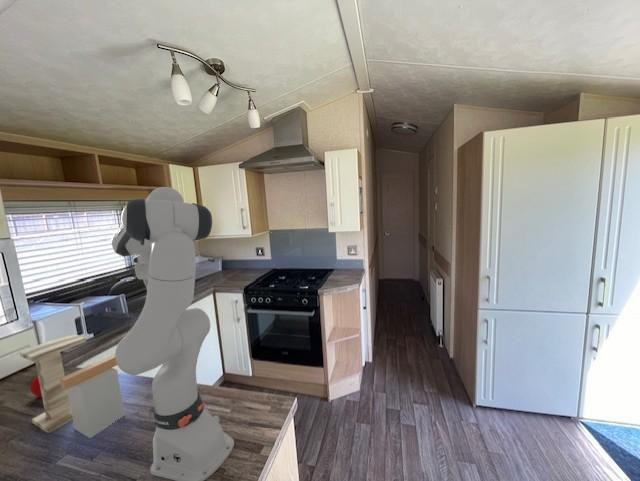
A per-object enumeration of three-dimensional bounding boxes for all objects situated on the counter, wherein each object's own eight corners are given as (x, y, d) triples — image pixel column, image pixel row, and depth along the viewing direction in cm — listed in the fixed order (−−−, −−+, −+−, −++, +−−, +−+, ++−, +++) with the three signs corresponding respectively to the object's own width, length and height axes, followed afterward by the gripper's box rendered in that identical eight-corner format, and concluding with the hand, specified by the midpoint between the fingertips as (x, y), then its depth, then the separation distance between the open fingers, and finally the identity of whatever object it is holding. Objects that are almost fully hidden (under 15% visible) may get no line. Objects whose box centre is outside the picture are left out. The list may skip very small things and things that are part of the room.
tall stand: (98, 405, 101) (86, 338, 98) (48, 433, 89) (33, 358, 86) (81, 397, 107) (70, 333, 104) (32, 422, 94) (18, 351, 91)
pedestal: (124, 416, 95) (117, 369, 93) (90, 438, 86) (81, 387, 84) (108, 408, 99) (101, 364, 97) (74, 428, 90) (65, 380, 88)
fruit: (56, 396, 108) (52, 373, 107) (26, 403, 105) (21, 379, 104) (68, 383, 117) (64, 361, 115) (41, 389, 113) (37, 366, 112)
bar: (134, 356, 101) (133, 348, 101) (66, 389, 83) (64, 380, 83) (129, 355, 102) (128, 347, 102) (61, 387, 85) (59, 378, 84)
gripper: (175, 257, 113) (179, 289, 114) (145, 256, 122) (149, 286, 123) (160, 259, 107) (164, 294, 109) (130, 258, 116) (134, 290, 118)
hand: (156, 290), depth 116 cm, fingers open, 8 cm apart
